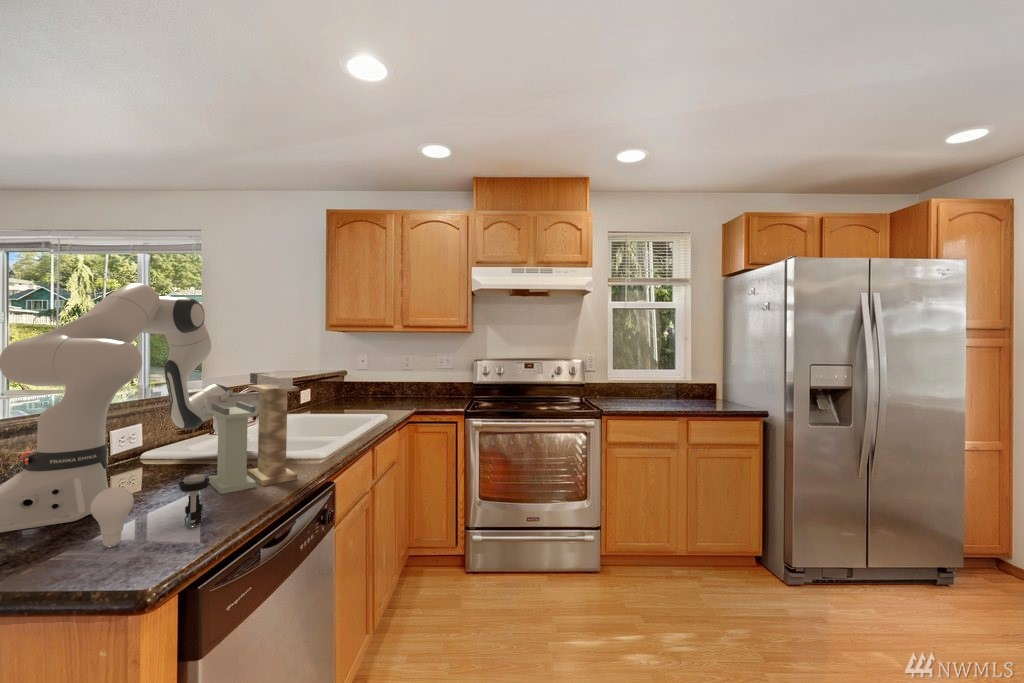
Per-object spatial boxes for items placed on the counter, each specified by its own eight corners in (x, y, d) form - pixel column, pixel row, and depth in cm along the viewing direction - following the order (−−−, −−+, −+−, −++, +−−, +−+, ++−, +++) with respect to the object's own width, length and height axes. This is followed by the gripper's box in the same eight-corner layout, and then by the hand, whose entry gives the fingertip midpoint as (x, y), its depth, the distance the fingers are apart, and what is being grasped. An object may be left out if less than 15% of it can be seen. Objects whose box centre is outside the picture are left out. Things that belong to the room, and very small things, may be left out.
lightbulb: (114, 538, 88) (115, 482, 88) (141, 540, 87) (142, 483, 87) (80, 552, 82) (81, 492, 82) (109, 555, 81) (110, 494, 81)
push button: (207, 527, 93) (208, 479, 93) (175, 533, 91) (176, 483, 91) (209, 517, 99) (210, 471, 99) (179, 521, 96) (180, 474, 97)
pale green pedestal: (221, 494, 114) (222, 409, 114) (208, 481, 124) (209, 403, 124) (256, 487, 120) (257, 406, 120) (240, 476, 130) (242, 401, 130)
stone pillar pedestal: (262, 486, 121) (263, 389, 121) (246, 474, 131) (248, 385, 131) (297, 479, 127) (298, 387, 127) (279, 469, 137) (281, 383, 137)
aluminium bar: (278, 389, 121) (278, 378, 121) (250, 382, 139) (250, 373, 139) (292, 388, 123) (292, 377, 123) (262, 382, 141) (262, 372, 141)
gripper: (198, 402, 149) (208, 384, 140) (266, 398, 163) (278, 381, 155) (200, 420, 146) (210, 403, 138) (269, 414, 161) (281, 397, 153)
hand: (246, 391), depth 147 cm, fingers open, 8 cm apart
